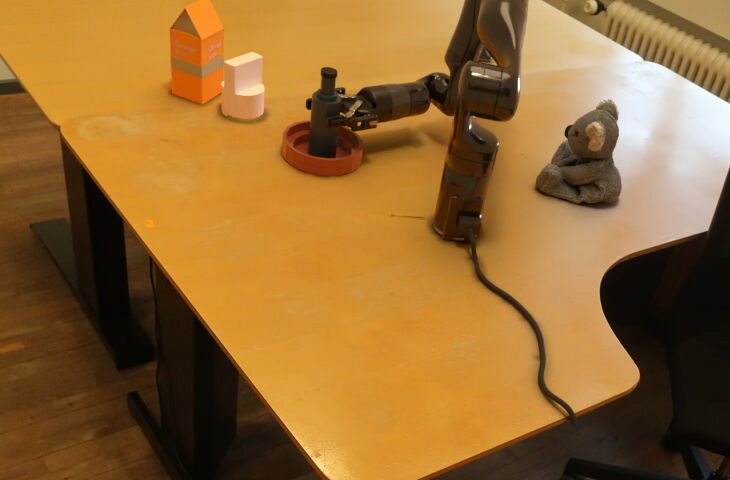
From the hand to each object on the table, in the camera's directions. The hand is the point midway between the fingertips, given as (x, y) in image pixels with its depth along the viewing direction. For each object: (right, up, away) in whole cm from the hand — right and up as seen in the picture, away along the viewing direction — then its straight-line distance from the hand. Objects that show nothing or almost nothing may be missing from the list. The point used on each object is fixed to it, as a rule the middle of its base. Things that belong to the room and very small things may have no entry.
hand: (316, 113), depth 167 cm
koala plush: (+55, -11, +19) cm, 60 cm away
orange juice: (-30, +10, +19) cm, 37 cm away
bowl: (0, -7, +8) cm, 11 cm away
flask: (0, -6, +7) cm, 10 cm away
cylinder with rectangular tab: (-19, +5, +17) cm, 26 cm away
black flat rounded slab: (+33, +39, +68) cm, 84 cm away
